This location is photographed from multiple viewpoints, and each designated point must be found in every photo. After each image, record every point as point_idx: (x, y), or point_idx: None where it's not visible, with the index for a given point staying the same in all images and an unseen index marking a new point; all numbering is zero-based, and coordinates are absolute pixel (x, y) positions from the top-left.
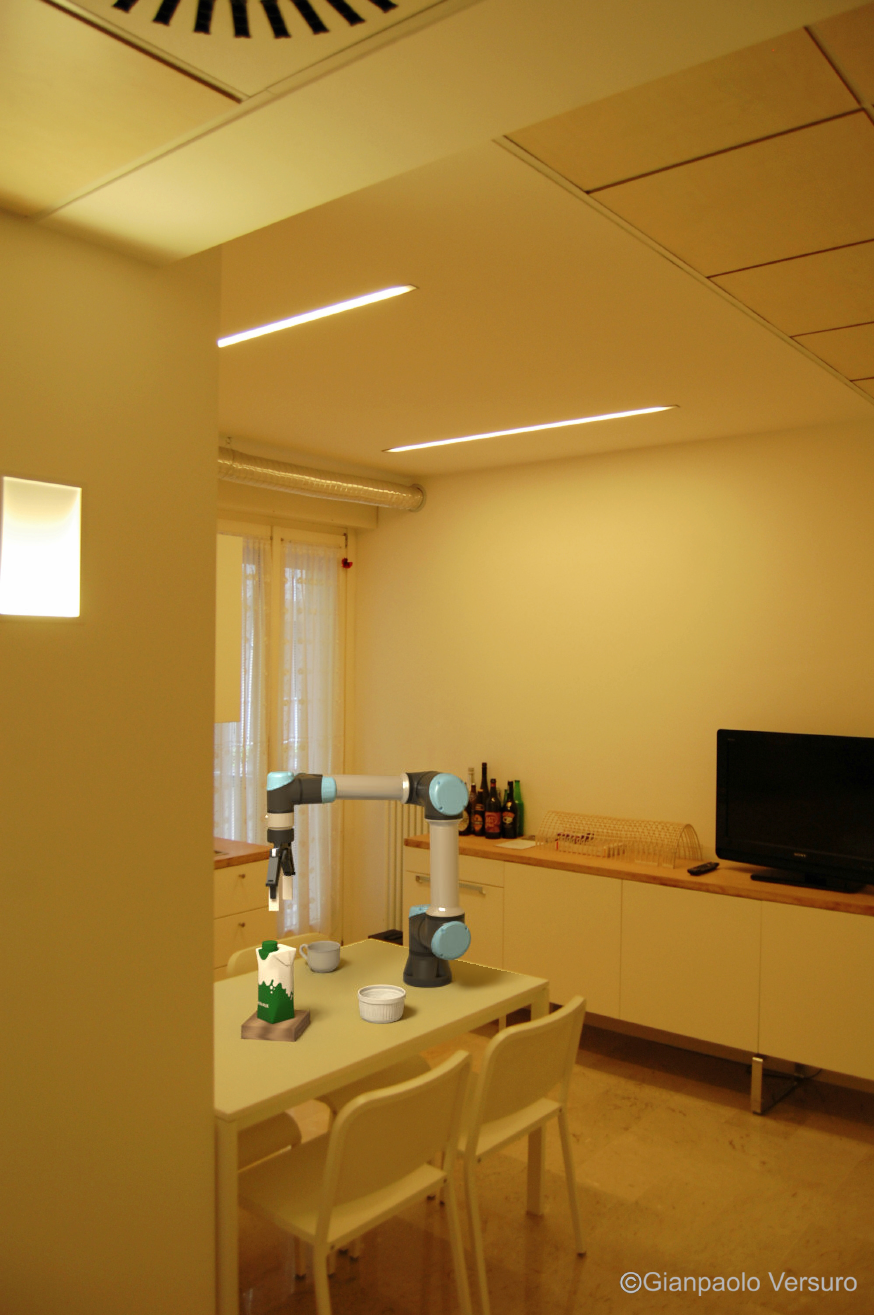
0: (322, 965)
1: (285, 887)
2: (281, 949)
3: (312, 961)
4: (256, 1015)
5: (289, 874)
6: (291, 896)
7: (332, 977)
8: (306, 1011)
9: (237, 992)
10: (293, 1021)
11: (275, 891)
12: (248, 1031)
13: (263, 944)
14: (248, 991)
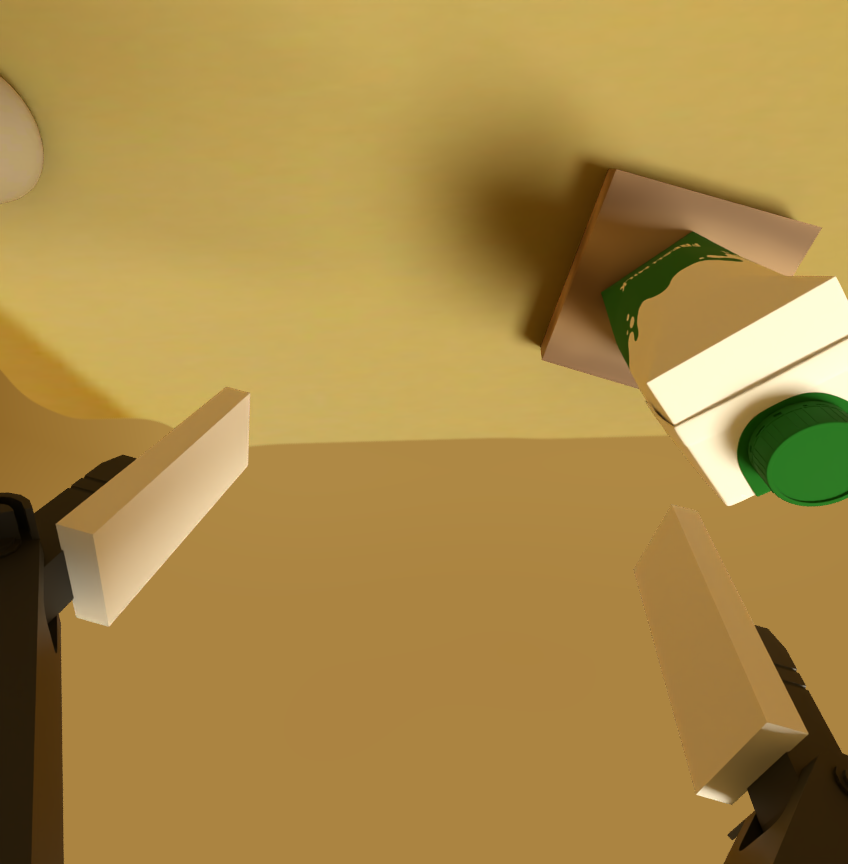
0: (29, 135)
1: (188, 510)
2: (827, 377)
3: (21, 180)
4: (623, 367)
5: (46, 574)
6: (236, 411)
7: (79, 89)
8: (623, 183)
9: (278, 415)
10: (731, 233)
11: (798, 704)
12: None
13: (841, 497)
14: (267, 386)
